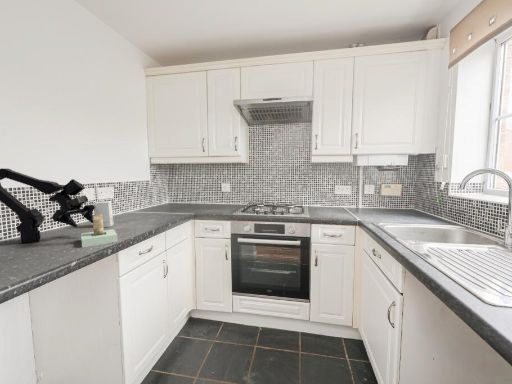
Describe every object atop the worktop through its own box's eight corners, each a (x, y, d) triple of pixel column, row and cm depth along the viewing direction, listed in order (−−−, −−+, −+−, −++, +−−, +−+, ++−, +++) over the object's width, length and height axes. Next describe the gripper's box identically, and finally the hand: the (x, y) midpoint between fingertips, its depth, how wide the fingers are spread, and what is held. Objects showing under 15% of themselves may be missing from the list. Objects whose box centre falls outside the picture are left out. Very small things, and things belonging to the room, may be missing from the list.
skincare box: (113, 224, 150) (112, 200, 149) (110, 227, 144) (108, 202, 143) (98, 225, 148) (97, 201, 147) (94, 228, 142) (93, 202, 140)
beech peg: (94, 242, 113) (92, 216, 111) (94, 240, 116) (92, 214, 115) (104, 241, 115) (102, 215, 114) (103, 239, 118) (102, 214, 117)
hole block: (82, 247, 106) (81, 239, 105) (81, 240, 117) (81, 233, 116) (117, 241, 114) (117, 234, 114) (114, 235, 125) (113, 229, 125)
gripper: (54, 192, 107) (76, 217, 105) (91, 189, 125) (109, 210, 124) (42, 209, 109) (63, 233, 108) (80, 203, 127) (98, 224, 126)
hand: (85, 224), depth 116 cm, fingers open, 9 cm apart
